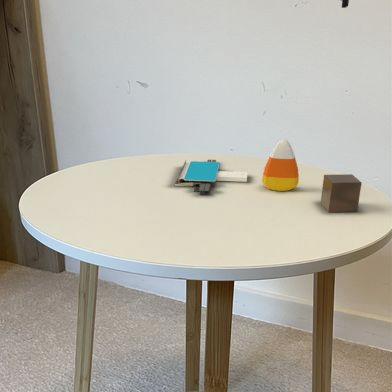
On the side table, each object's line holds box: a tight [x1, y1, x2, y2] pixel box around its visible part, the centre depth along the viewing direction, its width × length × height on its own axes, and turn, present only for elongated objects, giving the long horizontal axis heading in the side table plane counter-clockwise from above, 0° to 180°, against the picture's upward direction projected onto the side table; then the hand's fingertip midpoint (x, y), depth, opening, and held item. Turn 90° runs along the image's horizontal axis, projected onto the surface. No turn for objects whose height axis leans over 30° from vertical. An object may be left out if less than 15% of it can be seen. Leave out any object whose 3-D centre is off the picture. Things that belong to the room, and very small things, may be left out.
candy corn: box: [261, 138, 300, 192], centre depth 97 cm, size 6×3×8 cm, turn 81°
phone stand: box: [174, 159, 248, 196], centre depth 103 cm, size 20×12×2 cm, turn 175°
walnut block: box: [320, 173, 363, 213], centre depth 90 cm, size 4×4×4 cm
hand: (382, 8), depth 78 cm, fingers open, 9 cm apart
